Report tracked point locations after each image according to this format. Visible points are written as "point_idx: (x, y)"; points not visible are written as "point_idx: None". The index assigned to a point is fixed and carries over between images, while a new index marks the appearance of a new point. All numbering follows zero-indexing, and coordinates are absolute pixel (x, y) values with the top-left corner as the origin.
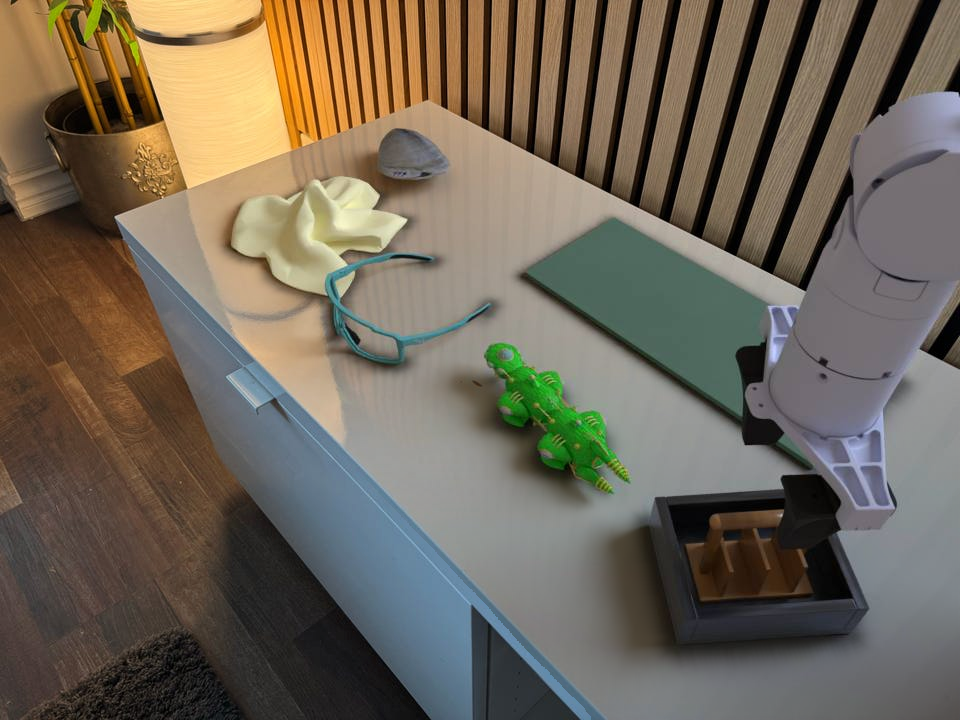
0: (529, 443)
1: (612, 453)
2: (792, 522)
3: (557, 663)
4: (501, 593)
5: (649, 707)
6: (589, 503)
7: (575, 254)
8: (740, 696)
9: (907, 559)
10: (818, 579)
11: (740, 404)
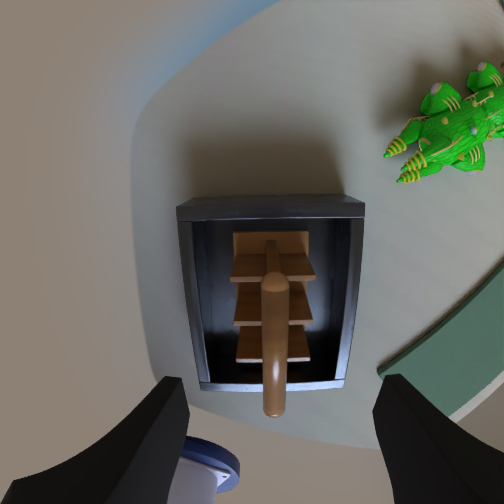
0: None
1: (435, 169)
2: (79, 455)
3: (178, 72)
4: (261, 21)
5: (133, 160)
6: (377, 130)
7: None
8: (146, 249)
9: None
10: None
11: (456, 325)
